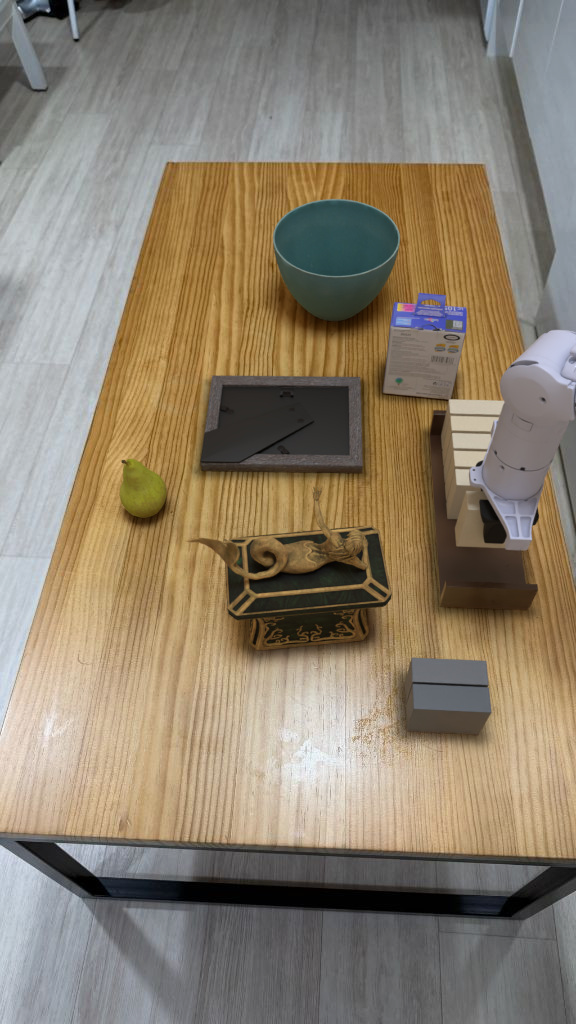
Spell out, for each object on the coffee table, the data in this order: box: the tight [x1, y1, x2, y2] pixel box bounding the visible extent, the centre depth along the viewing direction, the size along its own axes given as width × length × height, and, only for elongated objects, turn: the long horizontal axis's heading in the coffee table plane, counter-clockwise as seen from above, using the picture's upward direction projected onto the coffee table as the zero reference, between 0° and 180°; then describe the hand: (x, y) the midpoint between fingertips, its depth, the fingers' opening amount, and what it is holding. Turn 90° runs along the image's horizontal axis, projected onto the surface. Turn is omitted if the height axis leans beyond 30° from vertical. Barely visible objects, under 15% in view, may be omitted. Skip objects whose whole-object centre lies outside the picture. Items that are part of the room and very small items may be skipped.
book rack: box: [428, 409, 539, 611], centre depth 91 cm, size 26×10×5 cm, turn 177°
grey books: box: [404, 657, 492, 736], centre depth 76 cm, size 5×8×6 cm
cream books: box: [441, 398, 504, 519], centre depth 93 cm, size 14×7×7 cm, turn 177°
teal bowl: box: [272, 198, 401, 322], centre depth 112 cm, size 18×18×12 cm
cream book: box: [455, 491, 505, 548], centre depth 78 cm, size 2×7×7 cm, turn 87°
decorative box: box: [185, 484, 393, 651], centre depth 78 cm, size 20×10×20 cm, turn 95°
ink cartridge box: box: [382, 292, 468, 401], centre depth 100 cm, size 10×6×14 cm, turn 81°
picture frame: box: [199, 375, 364, 474], centre depth 101 cm, size 16×2×21 cm
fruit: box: [119, 458, 168, 519], centre depth 90 cm, size 6×6×12 cm
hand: (492, 528), depth 79 cm, fingers closed on cream book, 2 cm apart
